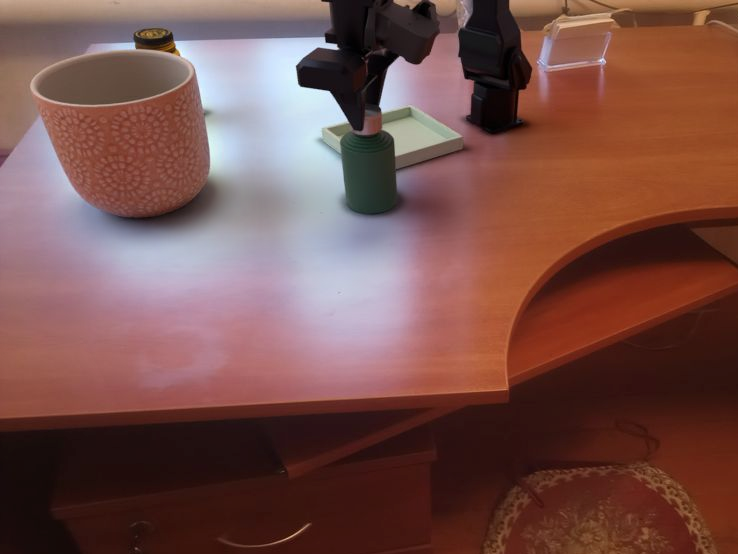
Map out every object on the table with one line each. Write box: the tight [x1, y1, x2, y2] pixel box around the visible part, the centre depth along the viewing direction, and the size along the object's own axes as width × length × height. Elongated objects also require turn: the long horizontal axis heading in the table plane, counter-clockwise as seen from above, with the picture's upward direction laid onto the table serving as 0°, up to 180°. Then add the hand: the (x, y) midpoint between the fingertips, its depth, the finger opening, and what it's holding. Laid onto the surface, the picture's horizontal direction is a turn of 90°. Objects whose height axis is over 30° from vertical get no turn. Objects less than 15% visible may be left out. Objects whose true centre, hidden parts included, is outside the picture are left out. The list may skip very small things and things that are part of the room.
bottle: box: [340, 130, 398, 215], centre depth 87 cm, size 6×6×11 cm
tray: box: [320, 104, 464, 170], centre depth 102 cm, size 15×13×2 cm
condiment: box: [132, 27, 206, 114], centre depth 104 cm, size 7×8×12 cm
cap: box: [349, 103, 383, 135], centre depth 84 cm, size 4×4×2 cm
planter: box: [29, 48, 211, 219], centre depth 85 cm, size 17×17×15 cm
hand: (365, 123), depth 84 cm, fingers closed on cap, 4 cm apart
